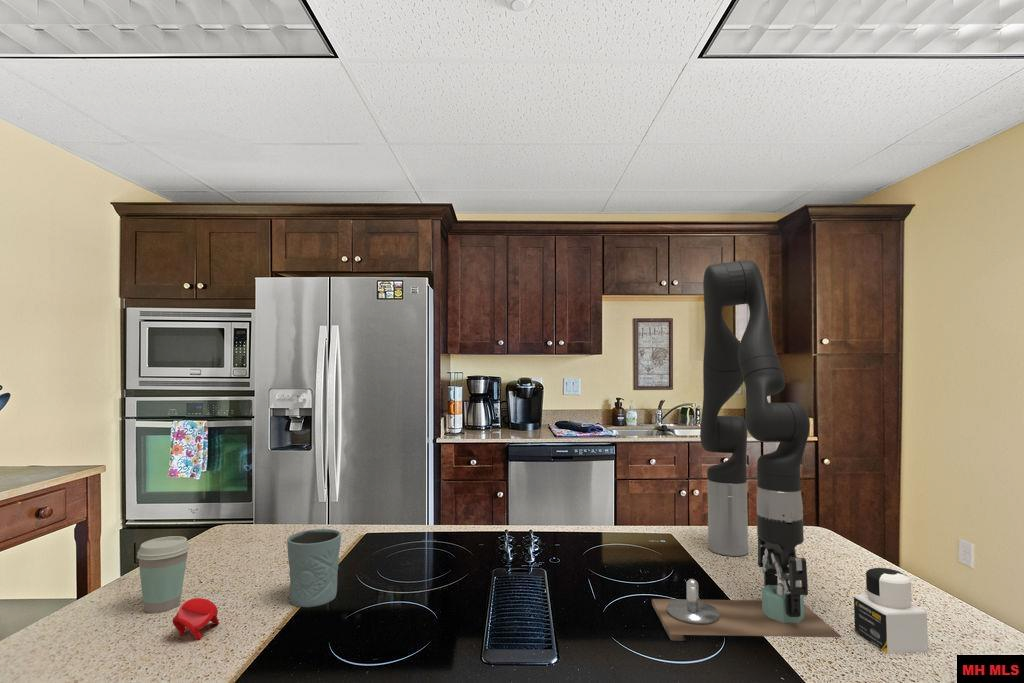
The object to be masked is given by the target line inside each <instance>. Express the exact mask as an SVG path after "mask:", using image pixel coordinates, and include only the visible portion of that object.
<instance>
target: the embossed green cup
mask: <svg viewBox="0 0 1024 683" xmlns="http://www.w3.org/2000/svg"><path fill="white" fill-rule="evenodd" d="M341 539H342V532H341V531H339V530H336V529H329V528H319V529H318V528H317V529H308V530H303V531H299V532H296V533H294V534H291V535H290V536H288V537H287V540H286V544H287V557H288V566H289V572H288V573H289V582H290V583H289V599H290V603H291V604H292V605H293V606H295V607H299V608H312V607H318V606H319V607H320V606H322V605H326V604H328V603H331V602H332V601H333V600H334V599H336V596H337V592H338V570H339V556H340V550H341V541H342V540H341Z"/></svg>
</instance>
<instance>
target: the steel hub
mask: <svg viewBox="0 0 1024 683" xmlns="http://www.w3.org/2000/svg"><path fill="white" fill-rule="evenodd" d="M698 600H699V583H698V581H697V580H695V579H694V578H689V579H688V580H687V581H686V599H682V600H675V601H672V602H670V603H669V604H668V605H667V613H668V614H669V615H670V616H671V617H672V618H674V619H676V620H678V621H681V622H684V623H688V624H693V625H709V624H713V623H715V622H717V621H718V620H719V611H718V610H717V609H716V608H715V607H713V606H712V605H710V604H707V603H704V602H701V601H698Z"/></svg>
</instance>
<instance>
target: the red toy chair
mask: <svg viewBox="0 0 1024 683" xmlns="http://www.w3.org/2000/svg"><path fill="white" fill-rule="evenodd" d="M218 612H219V610H218V608H217V606H216V604H215V603H214V602H213V601H211V600H209V599H207V598H202V597H198V598H197V597H196V598H195V597H194V598H190V599H188V600H186V601H185V602H183V603H182V604H181V606H180V607H179V608H178V610H177V613H176V615H175V616H174V617H173V618H172V620H171V621H172V622H171V623H172V625H173V626H174V627H175V628H176V631H177V632H178V634H179V635H180V636H184V635H185V632H186V629H188V630H189V632H190V633H191V634H192V635H193V636H194V637H195V639H196V640H198V641H200V640H201V639H202V638H203V634H202V633H201V632H200V630H201V629H202V628H204V627H205V626H207V625H208V624H209V623H212V624H214V625H219V623H220V621H219V618H218V614H219V613H218Z"/></svg>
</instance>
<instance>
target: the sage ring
mask: <svg viewBox="0 0 1024 683" xmlns="http://www.w3.org/2000/svg"><path fill="white" fill-rule="evenodd" d="M804 596H805V595H800V608H801V615H800V617H789V616H788V615H787V614H786V605H785V596H782V595H778V594H777V585H767V586H765V587H762V588H761V600H762V611H763V612H764V614H765V615H766V616H767V617H768V618H771V619H774V620H777V621H780V622H783V623H799V622H800V621H801V620H803V619H804V605H805V603H804V602H805V601H804V600H805V599H804V598H805V597H804Z"/></svg>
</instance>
